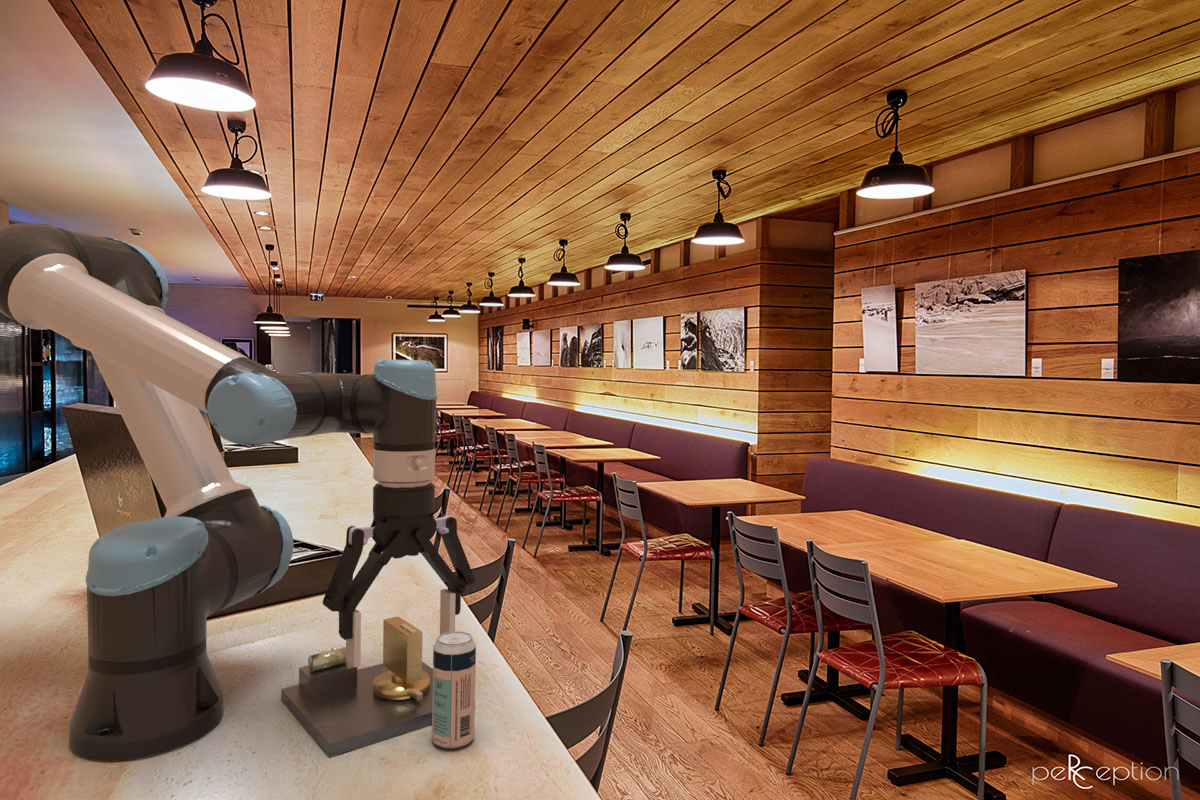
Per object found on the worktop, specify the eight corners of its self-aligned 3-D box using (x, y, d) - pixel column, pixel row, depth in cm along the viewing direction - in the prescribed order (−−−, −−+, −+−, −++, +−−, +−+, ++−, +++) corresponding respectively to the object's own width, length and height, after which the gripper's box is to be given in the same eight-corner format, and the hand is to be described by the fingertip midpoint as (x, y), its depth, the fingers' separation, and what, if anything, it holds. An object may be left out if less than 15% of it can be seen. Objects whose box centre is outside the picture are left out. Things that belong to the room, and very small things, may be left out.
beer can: (476, 730, 86) (478, 630, 86) (471, 752, 81) (473, 645, 81) (435, 730, 86) (437, 629, 85) (427, 751, 81) (429, 645, 81)
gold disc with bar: (392, 710, 87) (393, 642, 87) (364, 685, 94) (364, 621, 93) (445, 694, 92) (446, 629, 91) (414, 671, 98) (415, 611, 98)
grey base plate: (329, 757, 79) (330, 701, 79) (281, 700, 92) (281, 651, 92) (474, 710, 91) (475, 661, 91) (413, 665, 104) (414, 622, 104)
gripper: (316, 495, 81) (315, 686, 82) (502, 478, 97) (499, 638, 98) (295, 486, 87) (293, 664, 88) (473, 471, 103) (471, 623, 104)
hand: (402, 651), depth 93 cm, fingers open, 12 cm apart
